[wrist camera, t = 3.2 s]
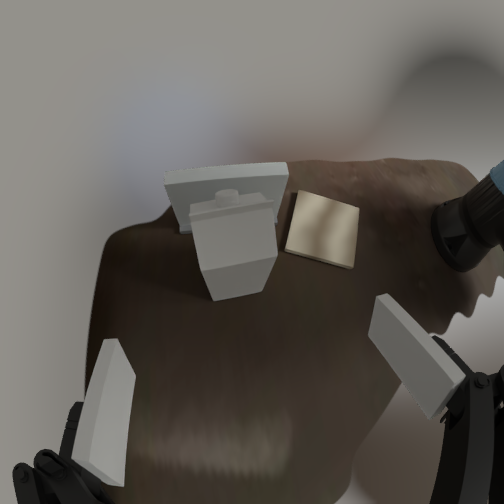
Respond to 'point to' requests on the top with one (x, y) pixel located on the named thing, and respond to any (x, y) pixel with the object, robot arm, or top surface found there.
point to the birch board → (323, 230)
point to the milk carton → (234, 242)
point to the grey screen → (223, 185)
